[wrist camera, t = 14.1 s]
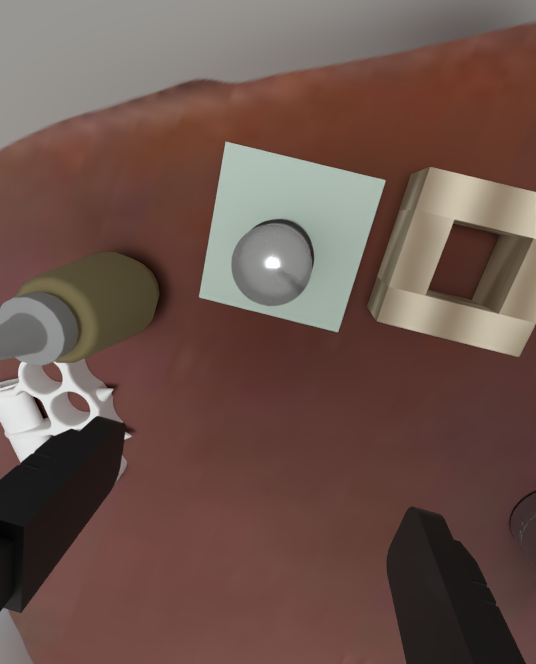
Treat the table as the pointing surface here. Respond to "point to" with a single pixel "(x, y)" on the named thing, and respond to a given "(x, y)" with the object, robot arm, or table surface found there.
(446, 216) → the eye block
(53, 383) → the white brass knuckles
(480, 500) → the table surface
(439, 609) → the robot arm
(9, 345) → the squeeze bottle
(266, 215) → the sage mat
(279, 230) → the steel peg
